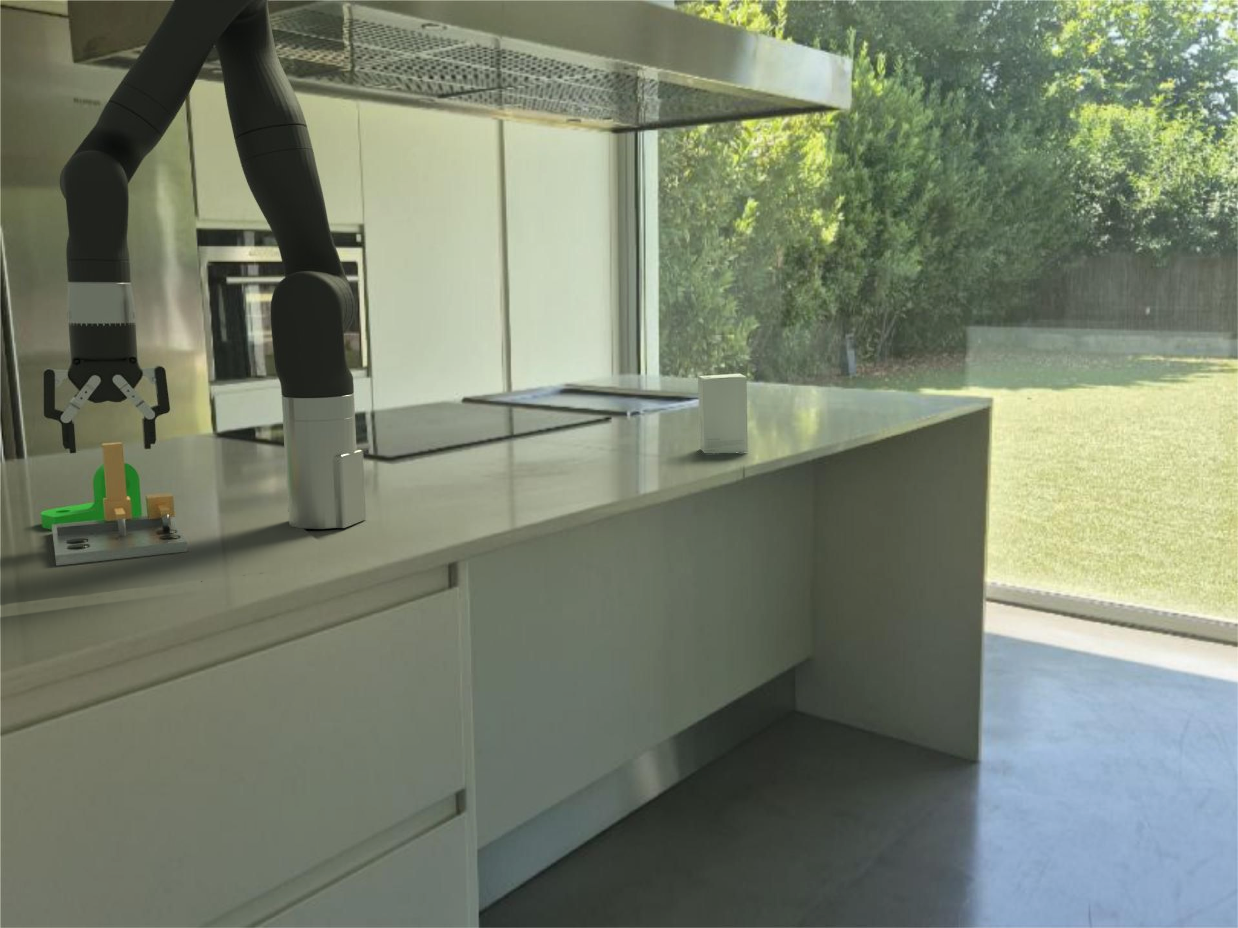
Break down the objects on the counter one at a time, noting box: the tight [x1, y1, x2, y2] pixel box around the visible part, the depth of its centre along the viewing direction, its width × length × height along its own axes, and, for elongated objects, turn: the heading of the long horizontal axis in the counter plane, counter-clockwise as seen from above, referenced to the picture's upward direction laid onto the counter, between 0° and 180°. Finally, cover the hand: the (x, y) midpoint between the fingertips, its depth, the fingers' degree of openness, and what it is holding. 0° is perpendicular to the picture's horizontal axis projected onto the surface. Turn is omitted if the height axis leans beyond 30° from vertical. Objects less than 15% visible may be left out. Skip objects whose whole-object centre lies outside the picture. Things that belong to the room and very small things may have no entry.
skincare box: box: [697, 373, 749, 455], centre depth 205 cm, size 8×6×15 cm
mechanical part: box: [40, 462, 143, 531], centre depth 153 cm, size 12×6×8 cm, turn 142°
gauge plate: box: [51, 492, 188, 567], centre depth 139 cm, size 14×20×5 cm
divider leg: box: [101, 441, 132, 536], centre depth 139 cm, size 3×8×10 cm, turn 28°
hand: (110, 450), depth 141 cm, fingers open, 8 cm apart
